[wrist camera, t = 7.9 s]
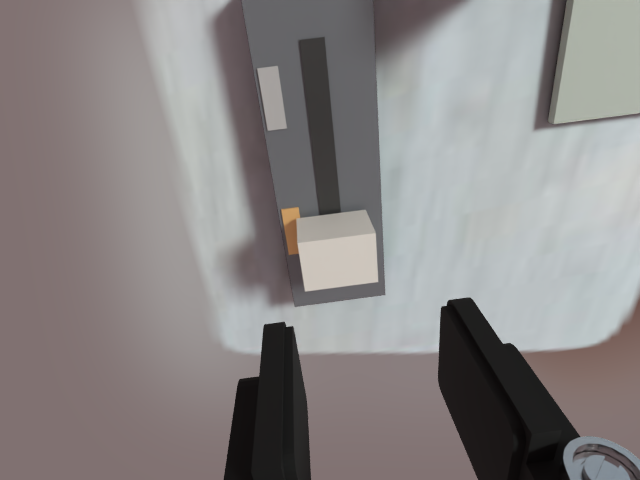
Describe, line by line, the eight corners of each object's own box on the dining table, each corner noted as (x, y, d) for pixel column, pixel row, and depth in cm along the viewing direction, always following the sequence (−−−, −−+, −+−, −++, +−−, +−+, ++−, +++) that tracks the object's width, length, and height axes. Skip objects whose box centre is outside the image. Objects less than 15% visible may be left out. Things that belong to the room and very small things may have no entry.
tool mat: (577, -66, 19) (585, -68, 19) (737, -86, 19) (750, -89, 19) (547, 122, 24) (553, 124, 23) (680, 105, 24) (689, 106, 23)
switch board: (242, -12, 19) (238, -17, 18) (364, -27, 20) (372, -33, 18) (294, 289, 28) (294, 307, 26) (379, 278, 28) (385, 295, 26)
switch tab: (296, 218, 23) (297, 243, 20) (365, 209, 23) (375, 233, 20) (303, 263, 24) (305, 291, 22) (368, 254, 24) (378, 282, 22)
